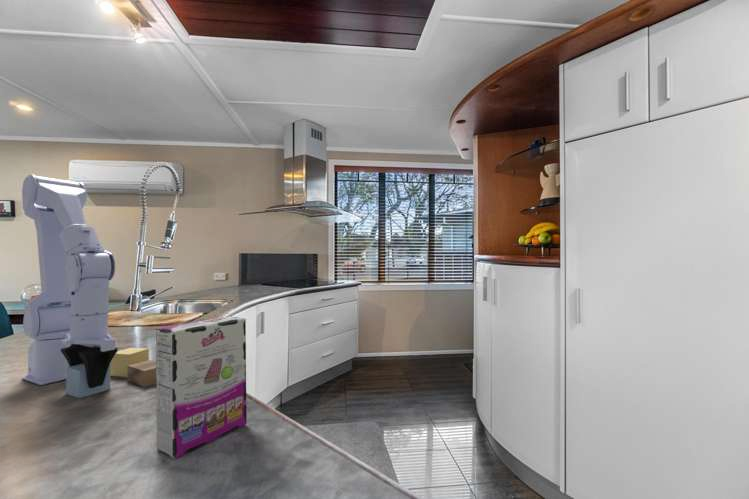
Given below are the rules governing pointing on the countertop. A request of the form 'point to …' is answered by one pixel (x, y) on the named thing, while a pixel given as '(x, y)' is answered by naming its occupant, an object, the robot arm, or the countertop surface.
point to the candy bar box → (200, 383)
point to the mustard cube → (127, 360)
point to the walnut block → (142, 373)
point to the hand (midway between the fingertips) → (88, 384)
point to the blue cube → (83, 382)
